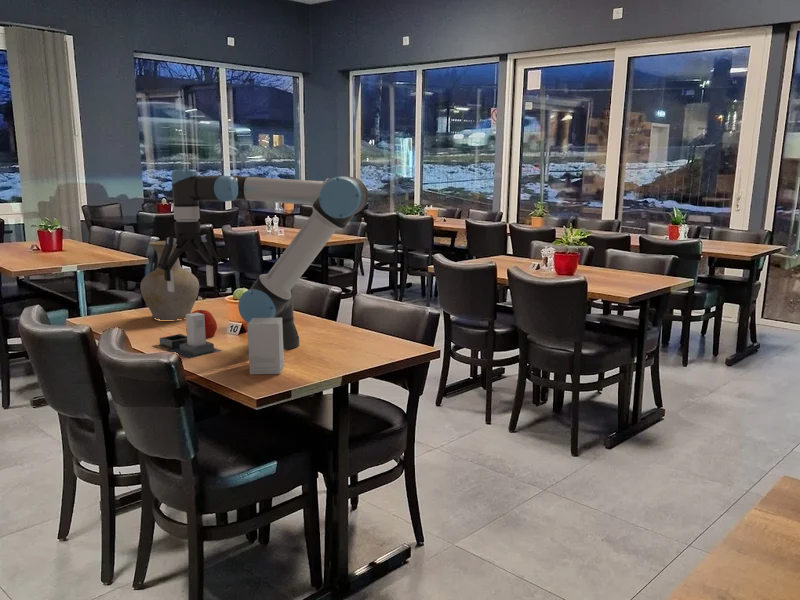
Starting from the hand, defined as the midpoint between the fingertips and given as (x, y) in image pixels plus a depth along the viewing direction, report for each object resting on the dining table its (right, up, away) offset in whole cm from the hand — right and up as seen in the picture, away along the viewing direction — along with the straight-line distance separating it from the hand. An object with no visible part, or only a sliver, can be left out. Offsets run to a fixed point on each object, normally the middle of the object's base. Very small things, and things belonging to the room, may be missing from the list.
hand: (191, 288), depth 208 cm
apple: (-3, -17, +22) cm, 28 cm away
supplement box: (+26, -24, -14) cm, 38 cm away
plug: (+1, -20, +1) cm, 20 cm away
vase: (-25, -11, +55) cm, 62 cm away
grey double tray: (-3, -20, +6) cm, 21 cm away
